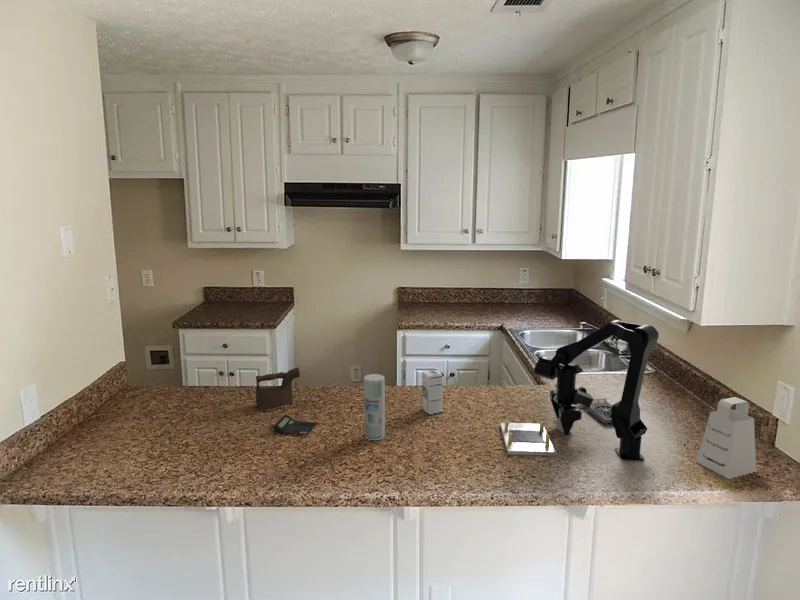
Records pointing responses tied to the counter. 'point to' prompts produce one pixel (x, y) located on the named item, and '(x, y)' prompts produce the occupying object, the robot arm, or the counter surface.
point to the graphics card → (599, 410)
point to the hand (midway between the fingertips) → (563, 428)
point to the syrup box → (432, 391)
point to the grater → (729, 440)
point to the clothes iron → (276, 390)
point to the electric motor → (560, 425)
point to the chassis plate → (527, 439)
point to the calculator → (293, 426)
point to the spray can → (374, 406)
